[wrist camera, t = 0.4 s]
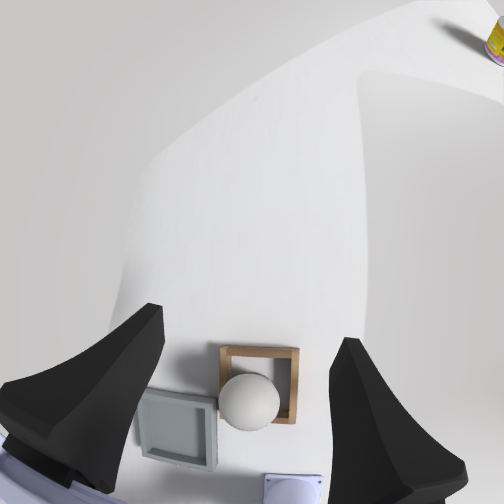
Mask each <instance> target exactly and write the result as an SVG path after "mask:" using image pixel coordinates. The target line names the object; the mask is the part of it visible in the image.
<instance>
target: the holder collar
mask: <svg viewBox="0 0 504 504" xmlns="http://www.w3.org/2000/svg"><path fill="white" fill-rule="evenodd" d="M231 356H246V357H266V358H292V362H291V387H290V407H289V411H278V413H277V415H276V417H275V418H274V420H273V421H272V422H271V423H277V424H295V422H296V412H297V394H298V373H299V348H272V347H247V346H230V345H225V346H223V347H221V348H220V392H221V390H222V388H223V387H224V385H225V384H226V383H227V382H228V381H229V380H230V379H231ZM220 419H224V418H223V416H222V414H221V412H220Z"/></svg>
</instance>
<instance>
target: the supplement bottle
mask: <svg viewBox="0 0 504 504" xmlns="http://www.w3.org/2000/svg"><path fill="white" fill-rule="evenodd" d="M485 50H486V52H487V54H488V55H489V56H490V57H491V58H492V59H493V60H494V61H495V62H496V63H498V64H499V65H501V66H504V16H501V17H500V18H499V19H498V21H497V23H496V25H495V27H494V29H493V31H492V33H491V34H490V36H489V38H488V40H487V42H486V44H485Z"/></svg>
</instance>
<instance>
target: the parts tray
mask: <svg viewBox="0 0 504 504" xmlns="http://www.w3.org/2000/svg"><path fill="white" fill-rule="evenodd" d="M137 407H138V419H139V430H140V440H141V449H142V456H144V457H148V458H151V459H155V460H159V461H163V462H167V463H171V464H176V465H180V466H185V467H189V468H194V469H200V470H205V471H211V472H213V470H214V469H215V467H216V466H217V464H218V452H217V398H212V397H204V396H196V395H189V394H182V393H176V392H170V391H164V390H158V389H153V388H148V387H146V389H145V391H144V393H143V395H142V397H141V399H140V401H139V403H138V406H137Z"/></svg>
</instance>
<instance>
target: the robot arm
mask: <svg viewBox="0 0 504 504" xmlns="http://www.w3.org/2000/svg"><path fill="white" fill-rule="evenodd" d="M164 343H165V336H164V323H163V308H162V306H160V305H156V304H152V303H147V304H146V305H145V306H143V307H142V308H141V309H140V310H138V311H137V312H136V313H135V314H134V315H132V316H131V317H130V318H129V319H128V320H126V321H125V322H124V323H123V324H121V325H120V326H119V327H117V328H116V329H115V330H114V331H112V332H111V333H110V334H108V335H107V336H106V337H104V338H103V339H102V340H100V341H99V342H97V343H96V344H94V345H93V346H91V347H90V348H88V349H87V350H85V351H84V352H82V353H80V354H79V355H77V356H75V357H74V358H71V359H69V360H68V361H65V362H63V363H61V364H59V365H57V366H55V367H53V368H51V369H48V370H45V371H43V372H40V373H38V374H35V375H32V376H29V377H26V378H22V379H18V380H14V381H11V382H6V383H4V384H3V386H2V387H1V389H0V424H1V425H2V426H3V427H4V428H5V429H6V430H7V431H8V432H9V434H8V436H7V438H6V437H5V436H3V435H2V434H1V433H0V500H1V501H2V502H3V503H5V504H129V503H126V502H123V501H121V500H118V499H115V498H113V497H110V496H108V495H105V494H110V493H112V492H114V489H115V484H116V479H117V474H118V469H119V464H120V460H121V456H122V452H123V448H124V445H125V441H126V438H127V435H128V431H129V428H130V425H131V422H132V419H133V416H134V413H135V411H136V408H137V406H138V403H139V401H140V399H141V397H142V395H143V393H144V391H145V389H146V387H147V385H148V383H149V381H150V379H151V376H152V374H153V372H154V370H155V368H156V366H157V364H158V361H159V358H160V356H161V353H162V349H163V346H164ZM329 400H330V411H331V423H332V434H333V458H332V473H331V483H330V491H329V498H328V504H445V498H447V497H448V496H450V495H452V494H454V493H455V492H457V491H459V490H460V489H462V488H463V487H464V486H465V485H466V484H467V483H468V476H467V471H466V467H465V463H464V461H463V460H461V459H460V458H458V457H457V456H455V455H454V454H452V453H451V452H450V451H448V450H447V449H445V448H444V447H443V446H442V445H441V444H439V443H438V442H437V441H436V440H435V439H433V438H432V437H431V436H430V435H429V434H428V433H427V432H426V431H425V430H424V429H423V428H422V427H421V426H420V425H419V424H418V423H417V422H416V421H415V420H414V419H413V418H412V417H411V415H410V414H409V413H408V412H407V411H406V410H405V409H404V407H403V406H402V405H401V403H400V402H399V401H398V399H397V398H396V397H395V395H394V394H393V392H392V391H391V390H390V388H389V387H388V385H387V384H386V382H385V381H384V379H383V378H382V376H381V374H380V373H379V371H378V370H377V368H376V366H375V365H374V363H373V362H372V360H371V358H370V356H369V355H368V353H367V351H366V350H365V348H364V346H363V345H362V343H361V341H360V340H359V339H357V338H348V337H344V340H343V342H342V344H341V346H340V349H339V351H338V353H337V355H336V357H335V359H334V362H333V364H332V366H331V368H330V370H329ZM267 479H269V480H267ZM318 481H321V482H318ZM323 481H324V477H323V476H302V475H277V474H266V475H265V482H264V502H263V504H320V500H321V494H322V488H323ZM89 487H90V488H89ZM91 488H92V489H91ZM96 490H97V491H96ZM98 491H99V492H98ZM100 492H101V493H100ZM103 493H104V494H103Z"/></svg>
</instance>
